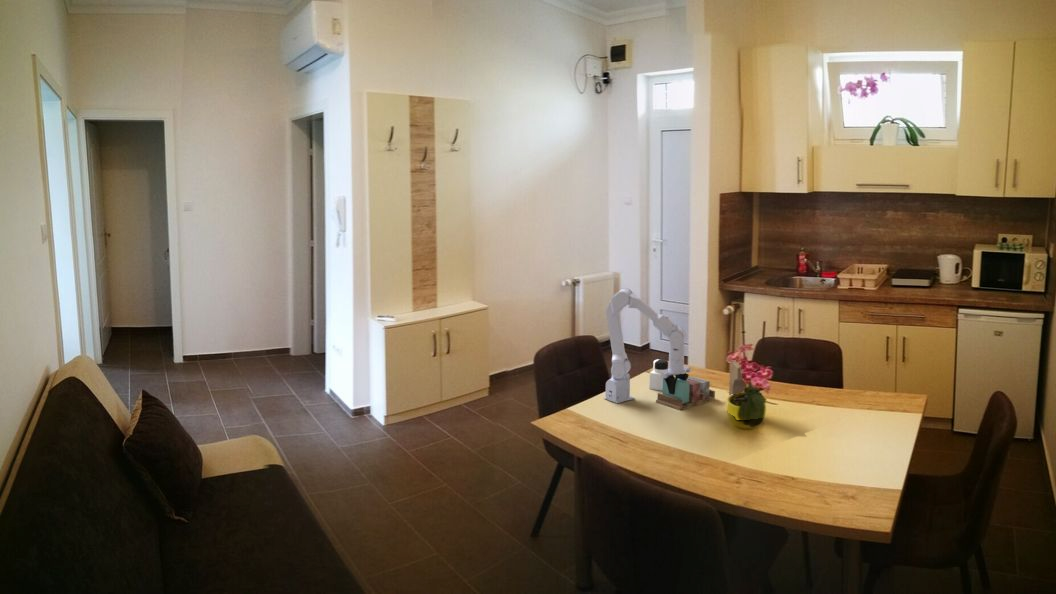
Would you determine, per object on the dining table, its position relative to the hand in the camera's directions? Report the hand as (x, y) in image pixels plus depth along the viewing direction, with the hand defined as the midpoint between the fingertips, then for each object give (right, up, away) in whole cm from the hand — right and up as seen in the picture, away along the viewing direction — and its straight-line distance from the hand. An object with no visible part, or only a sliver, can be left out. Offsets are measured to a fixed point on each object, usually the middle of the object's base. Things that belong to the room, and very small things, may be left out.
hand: (675, 392), depth 277 cm
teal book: (0, -3, 0) cm, 3 cm away
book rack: (+5, -4, +4) cm, 8 cm away
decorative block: (+21, -7, -13) cm, 26 cm away
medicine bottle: (-2, -1, +22) cm, 22 cm away
